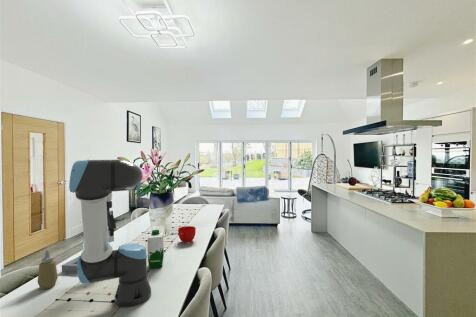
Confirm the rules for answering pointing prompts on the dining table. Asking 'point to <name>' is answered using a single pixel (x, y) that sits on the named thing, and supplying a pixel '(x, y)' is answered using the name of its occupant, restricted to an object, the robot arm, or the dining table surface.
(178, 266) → the dining table surface
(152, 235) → the milk carton
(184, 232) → the ceramic cup
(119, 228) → the dining table surface
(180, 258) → the dining table surface
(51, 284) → the squeeze bottle
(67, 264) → the housing
